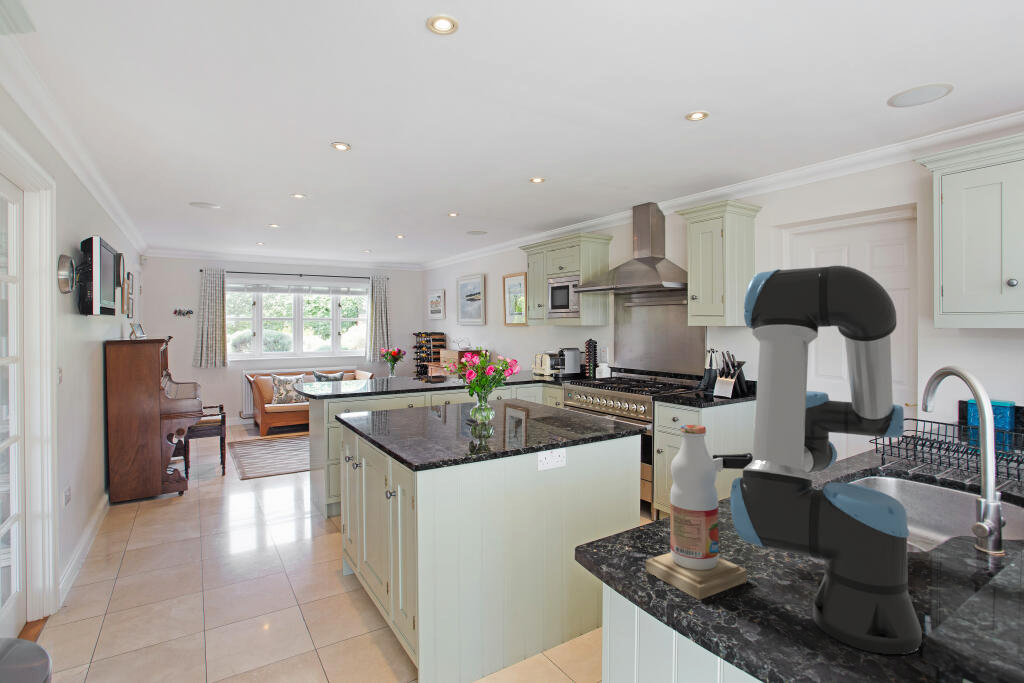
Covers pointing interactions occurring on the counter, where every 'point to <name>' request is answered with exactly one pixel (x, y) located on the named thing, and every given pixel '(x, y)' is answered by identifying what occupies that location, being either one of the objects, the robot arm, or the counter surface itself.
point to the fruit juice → (694, 503)
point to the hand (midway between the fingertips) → (727, 474)
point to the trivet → (697, 576)
